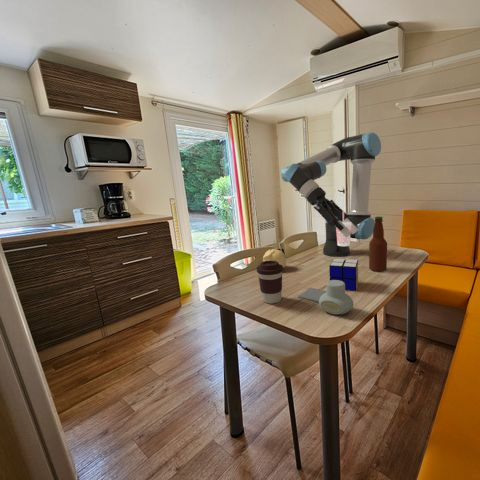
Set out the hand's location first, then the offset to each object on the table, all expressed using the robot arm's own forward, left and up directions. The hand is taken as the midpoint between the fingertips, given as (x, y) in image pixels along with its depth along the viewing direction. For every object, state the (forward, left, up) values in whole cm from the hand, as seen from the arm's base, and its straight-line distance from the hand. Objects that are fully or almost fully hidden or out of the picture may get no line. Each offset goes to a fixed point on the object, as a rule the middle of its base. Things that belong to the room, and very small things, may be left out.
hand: (352, 233), depth 102 cm
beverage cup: (+1, -4, -5) cm, 6 cm away
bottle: (-25, -2, -22) cm, 34 cm away
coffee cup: (+31, -15, -22) cm, 41 cm away
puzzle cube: (+1, -3, -22) cm, 23 cm away
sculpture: (+4, -41, -22) cm, 47 cm away
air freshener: (+22, +7, -22) cm, 32 cm away
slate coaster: (+17, -5, -22) cm, 28 cm away
